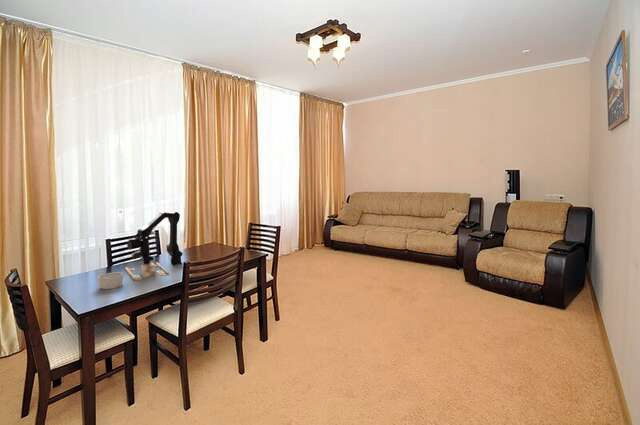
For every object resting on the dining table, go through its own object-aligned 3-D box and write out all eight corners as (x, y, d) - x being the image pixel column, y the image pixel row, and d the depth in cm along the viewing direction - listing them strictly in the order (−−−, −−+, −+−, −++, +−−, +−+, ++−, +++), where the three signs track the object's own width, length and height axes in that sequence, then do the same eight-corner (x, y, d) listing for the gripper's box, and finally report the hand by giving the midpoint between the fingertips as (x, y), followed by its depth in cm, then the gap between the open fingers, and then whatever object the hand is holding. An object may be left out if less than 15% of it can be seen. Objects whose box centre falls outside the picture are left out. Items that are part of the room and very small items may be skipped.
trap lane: (157, 264, 251) (157, 262, 251) (168, 274, 226) (168, 272, 226) (125, 269, 238) (125, 267, 238) (133, 281, 213) (133, 278, 213)
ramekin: (119, 281, 213) (118, 270, 212) (127, 285, 205) (126, 274, 204) (95, 287, 203) (94, 276, 202) (103, 291, 194) (102, 280, 194)
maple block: (153, 272, 231) (152, 262, 230) (155, 274, 225) (154, 264, 224) (142, 274, 227) (141, 264, 226) (144, 277, 221) (143, 266, 220)
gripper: (128, 245, 232) (130, 267, 234) (134, 250, 218) (136, 273, 220) (146, 243, 239) (148, 264, 241) (152, 248, 225) (154, 270, 227)
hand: (146, 268), depth 232 cm, fingers closed
